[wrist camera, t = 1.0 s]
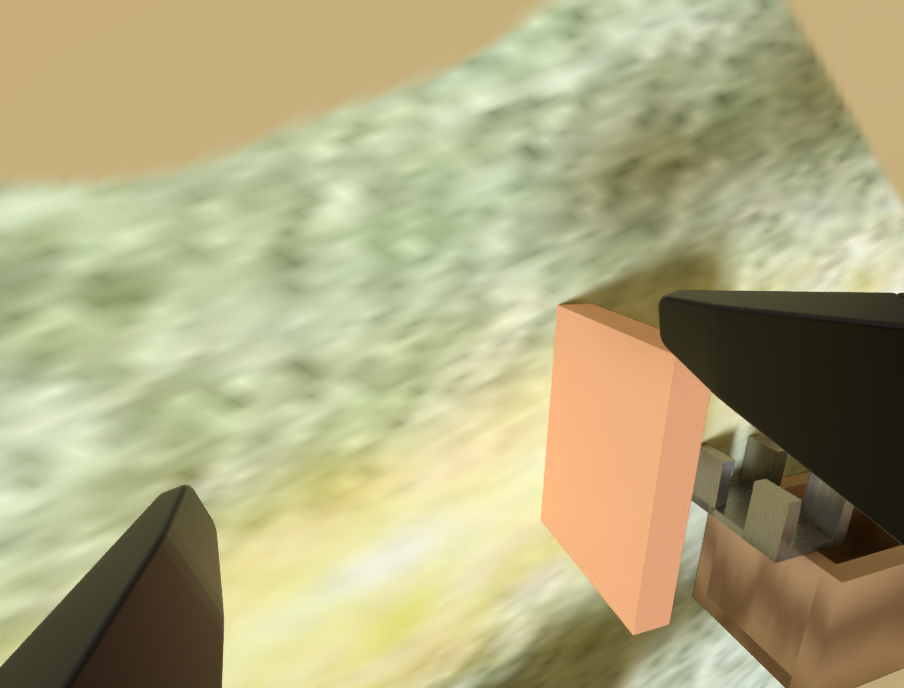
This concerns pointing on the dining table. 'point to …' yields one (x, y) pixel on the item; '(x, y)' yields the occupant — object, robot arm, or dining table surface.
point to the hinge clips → (769, 502)
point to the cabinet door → (621, 458)
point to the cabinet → (810, 602)
